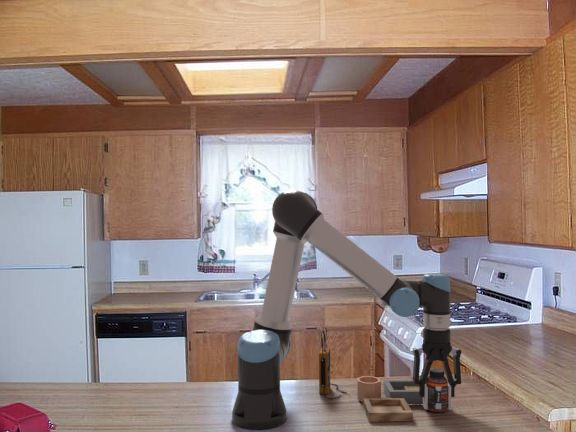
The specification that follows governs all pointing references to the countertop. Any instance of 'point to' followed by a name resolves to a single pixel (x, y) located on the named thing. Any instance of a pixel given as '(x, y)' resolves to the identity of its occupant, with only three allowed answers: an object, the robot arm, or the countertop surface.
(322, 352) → the multimeter
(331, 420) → the countertop surface
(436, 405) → the supplement bottle
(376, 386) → the empty cup
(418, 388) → the pad
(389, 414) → the square wooden tray
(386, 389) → the tray
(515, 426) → the countertop surface
